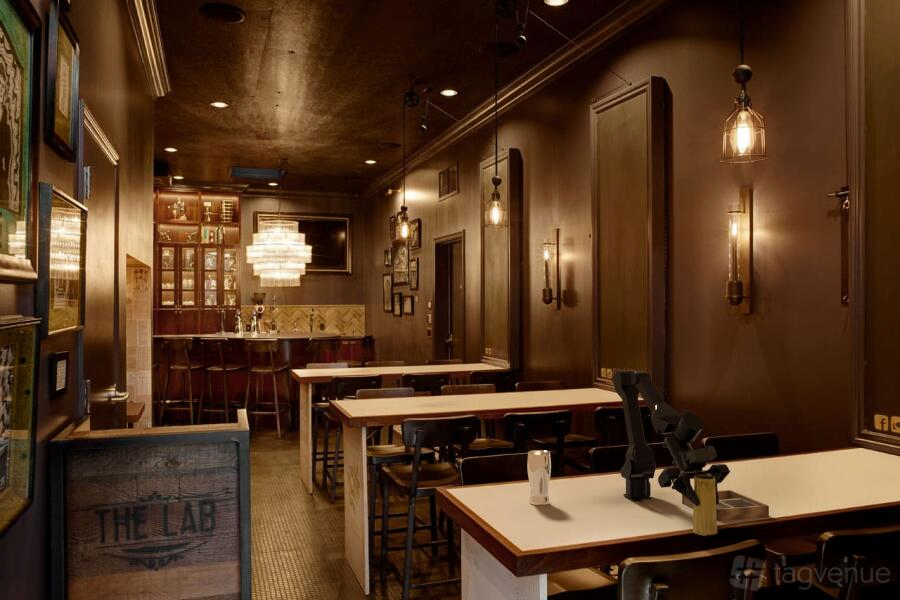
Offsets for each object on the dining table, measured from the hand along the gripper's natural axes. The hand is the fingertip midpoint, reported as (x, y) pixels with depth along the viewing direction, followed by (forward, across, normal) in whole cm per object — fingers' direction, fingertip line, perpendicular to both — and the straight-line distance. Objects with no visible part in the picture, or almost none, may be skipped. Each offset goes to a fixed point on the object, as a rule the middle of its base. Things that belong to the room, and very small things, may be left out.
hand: (708, 504), depth 172 cm
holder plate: (-4, +19, +14) cm, 24 cm away
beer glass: (-21, -31, +32) cm, 49 cm away
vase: (+4, 0, +6) cm, 8 cm away
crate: (-6, +16, +17) cm, 24 cm away
